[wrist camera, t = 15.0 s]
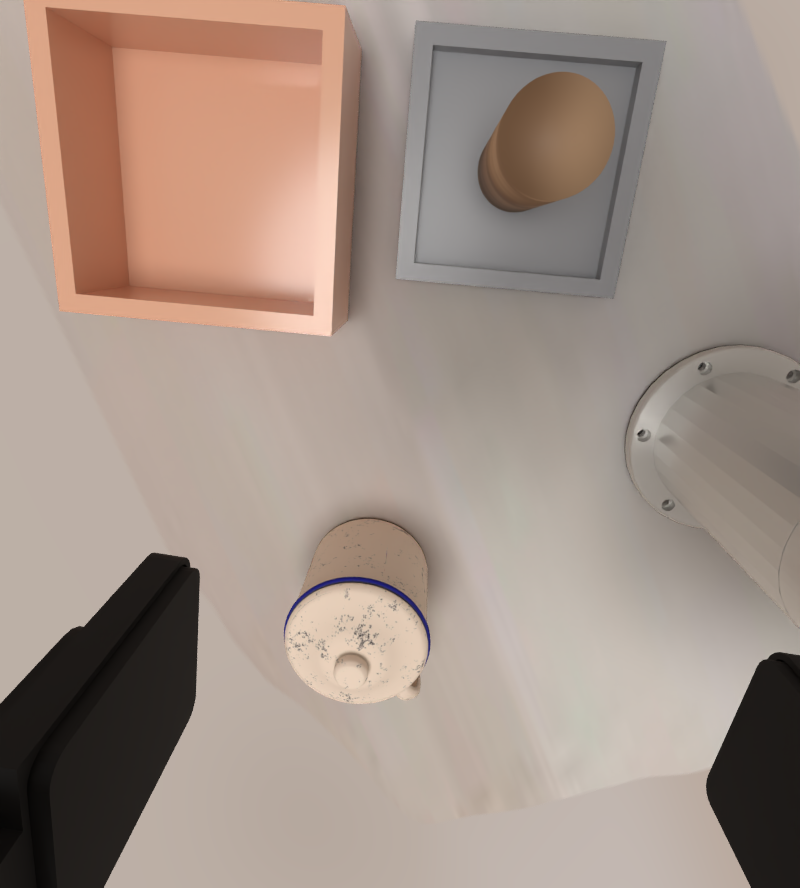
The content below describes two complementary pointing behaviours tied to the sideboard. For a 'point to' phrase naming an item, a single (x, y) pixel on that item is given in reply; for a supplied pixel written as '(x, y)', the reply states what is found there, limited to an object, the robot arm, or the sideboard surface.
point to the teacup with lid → (362, 615)
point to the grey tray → (465, 136)
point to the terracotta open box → (199, 158)
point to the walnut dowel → (547, 143)
